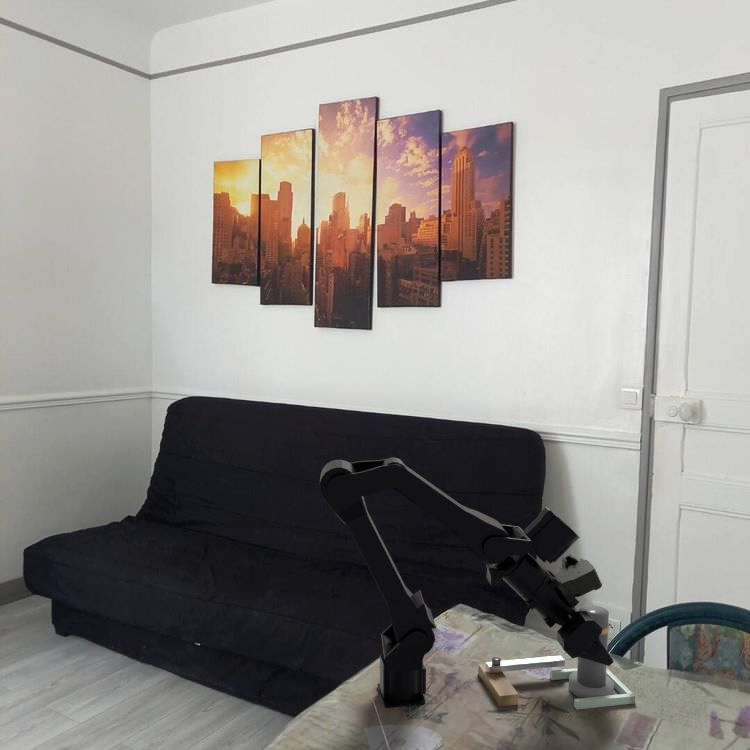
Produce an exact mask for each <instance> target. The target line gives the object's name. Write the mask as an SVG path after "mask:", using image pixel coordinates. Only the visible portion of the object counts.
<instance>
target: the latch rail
mask: <svg viewBox="0 0 750 750" xmlns="http://www.w3.org/2000/svg"><path fill="white" fill-rule="evenodd" d="M477 668H478V669H477V670H478V676H479V677H480V679H481V680H482V682H483V684H484V685H485V687H486V688H487V690H488V692H489V693H490V694H491V696H492V697H493V699H494V700H495V702H496V704H497V705H498V707H508V706H519V693H518V692H517V690H516V689H515V688H514V685H512V683H511V681H510V680H509V679H508V678H507V676H506V675H505V674H504V672H494V673H489V672H488V671H487V669H486V663H479V664H478V666H477Z"/></svg>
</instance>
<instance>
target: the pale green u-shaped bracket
mask: <svg viewBox="0 0 750 750" xmlns="http://www.w3.org/2000/svg"><path fill="white" fill-rule="evenodd" d="M575 671H577V667H576V668H575V667H574V668H565V669H563V668H562V669H553V670H552V669H551V670H549V679H550V680H551V681H555V680H569V676H570V674H571V673H573V672H575ZM606 676H608V677H609V678H610V679H611V680H612V681H613V683H614V690H616V692H618V693H619V694H613V695H609V696H600V697H590V698H574V699H573V700H574V702H573V705H574V708H575V709H576V710H584V709H585V710H586V709H595V708H603V707H604V708H605V707H611V706H612V707H614V706H624V705H632V704H636V695H635V694H634V693H633V692H632V691H631V690H630V689H629V688H628V687H627V686H626V685H625V684H624V683H622V681H621V680H619V678H617V676H616V675H614V674H613V673H612V671H610V670H609V669H608V667H607V668H606Z"/></svg>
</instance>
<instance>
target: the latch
mask: <svg viewBox="0 0 750 750" xmlns="http://www.w3.org/2000/svg"><path fill="white" fill-rule="evenodd" d="M485 664H486V669H487V671H488V672H489V673H494V672H503V673H504V672H512V671H513V672H514V671H525V670H536V669H543V668H544V669H545V668H547V669H548V668H556V667H557V668H558V667H565V665H566V659H565V658H564V657H563V656H562V655H551V656H540V657H539V656H538V657H530V658H529V657H527V658H520V659H519V658H517V659H507V660H502V659H501V658H500V657H498V656H493V657H492V658H491V661H485Z"/></svg>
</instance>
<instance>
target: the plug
mask: <svg viewBox="0 0 750 750" xmlns="http://www.w3.org/2000/svg"><path fill="white" fill-rule="evenodd" d="M578 611H587V612H588V613H589V614H590V615H591V616H592V617H593V618H594V619H595V620H596V621H597V622H598V624H599V625H600V626H601V627H602V629H603V630H602V633H601V635H600V636H599V639H600V641H601V642H602V644H603V646H604V647H605V649H606V650H607V651H608V640H609V639H608V638H609V632H610V624H609V617H610V616H609V615H610V612H609V610H607V609H606V608H604V607H602V606H599V605H593V604H586V605H582V606H580V607H579V610H578ZM576 664H577V667H576V668H577V671H575V672H573V673H571V674H570V676H569V679H568V690H569V691H570V692H571V694H573V695H574V696H575V697H577V698H578V699H580V698H590V697H600V696H609V695H615V694H614V693H615V691H614V690H615V688H614V683H613V681H612V680H611V679H610V678H609V677H608V676H606V668H607V669H608V666H607V665H604V664H601V663H598V662H594V661H591V660H588V659H584V658H580V657H577V663H576Z"/></svg>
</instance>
